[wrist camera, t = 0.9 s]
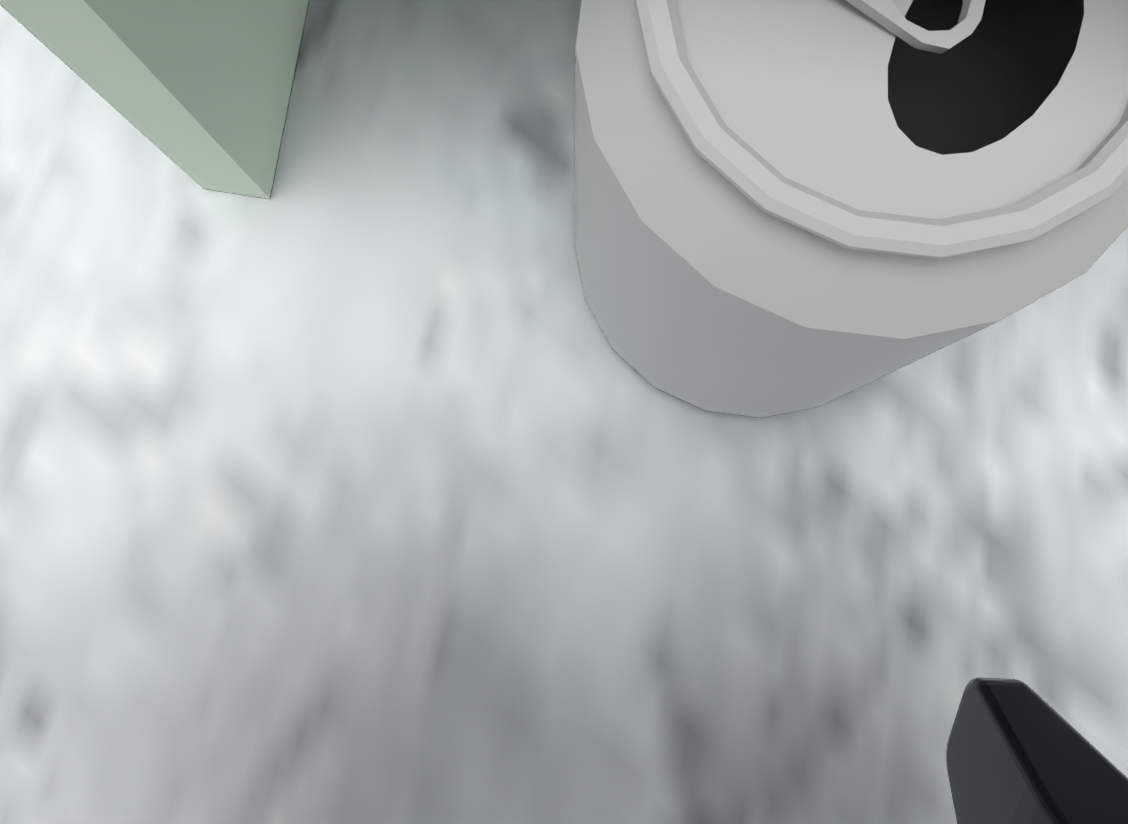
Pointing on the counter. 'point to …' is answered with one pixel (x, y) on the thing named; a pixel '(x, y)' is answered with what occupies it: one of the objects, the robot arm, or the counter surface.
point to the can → (836, 181)
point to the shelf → (186, 75)
